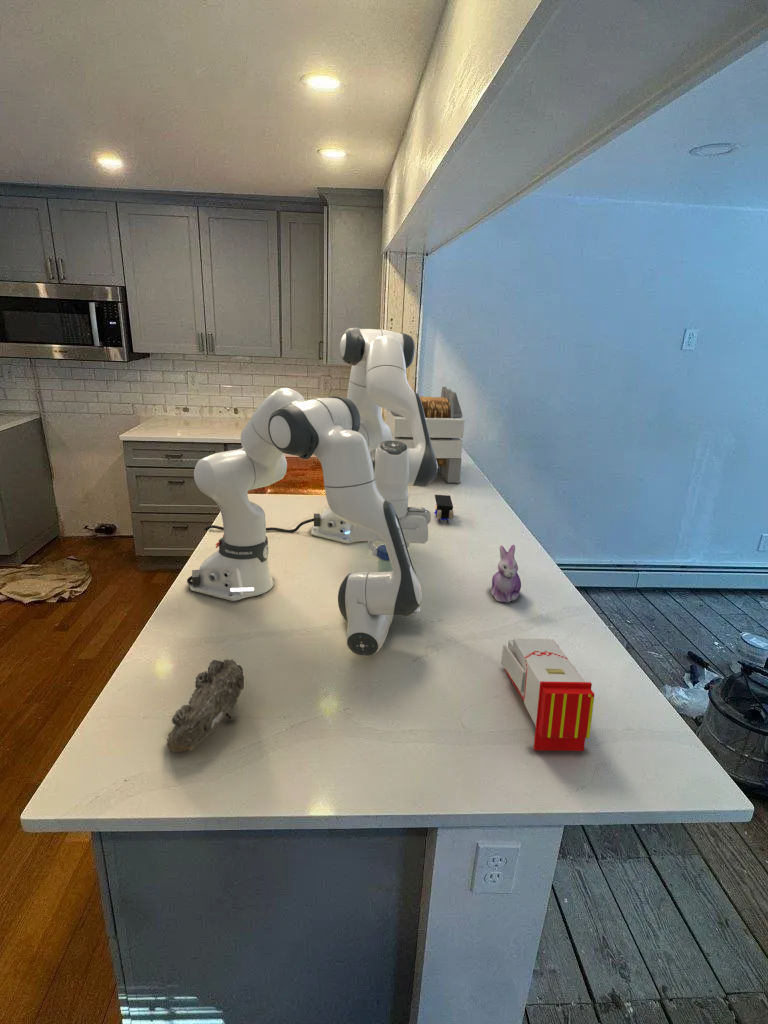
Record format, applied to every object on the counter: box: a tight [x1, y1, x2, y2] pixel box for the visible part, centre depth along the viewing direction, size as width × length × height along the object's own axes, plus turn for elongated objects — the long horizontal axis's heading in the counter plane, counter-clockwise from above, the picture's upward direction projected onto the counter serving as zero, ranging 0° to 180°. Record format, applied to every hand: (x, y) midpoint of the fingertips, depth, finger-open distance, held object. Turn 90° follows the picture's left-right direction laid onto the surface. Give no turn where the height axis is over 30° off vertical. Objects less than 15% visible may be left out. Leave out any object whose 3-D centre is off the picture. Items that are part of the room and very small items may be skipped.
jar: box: [377, 557, 393, 572], centre depth 150 cm, size 5×5×15 cm
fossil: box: [166, 658, 245, 754], centre depth 106 cm, size 22×10×15 cm
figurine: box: [490, 544, 522, 603], centre depth 157 cm, size 9×10×15 cm
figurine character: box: [433, 494, 454, 524], centre depth 215 cm, size 7×8×15 cm
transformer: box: [385, 386, 465, 484], centre depth 268 cm, size 34×33×41 cm
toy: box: [500, 637, 595, 752], centre depth 114 cm, size 12×13×30 cm
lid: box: [376, 543, 390, 560], centre depth 147 cm, size 6×6×2 cm
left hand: (386, 585), depth 152 cm, fingers closed on jar, 5 cm apart
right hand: (387, 556), depth 148 cm, fingers closed on lid, 5 cm apart
